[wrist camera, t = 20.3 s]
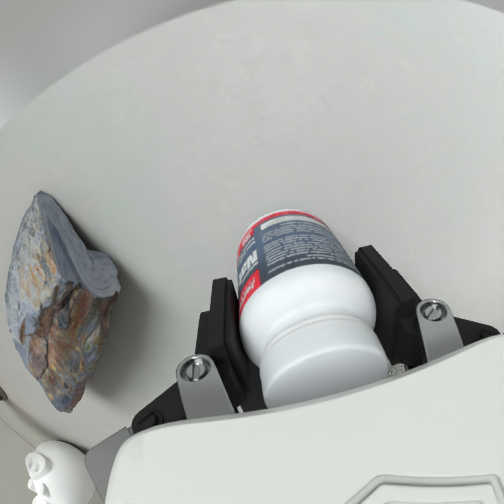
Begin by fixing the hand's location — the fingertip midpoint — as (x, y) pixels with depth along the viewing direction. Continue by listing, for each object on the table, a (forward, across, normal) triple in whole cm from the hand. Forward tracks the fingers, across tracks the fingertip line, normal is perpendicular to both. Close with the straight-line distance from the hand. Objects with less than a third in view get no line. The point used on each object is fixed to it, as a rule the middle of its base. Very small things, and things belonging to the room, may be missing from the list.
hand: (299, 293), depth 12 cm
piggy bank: (+5, +38, +27) cm, 47 cm away
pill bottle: (+4, 0, 0) cm, 4 cm away
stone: (+5, +17, +1) cm, 18 cm away
